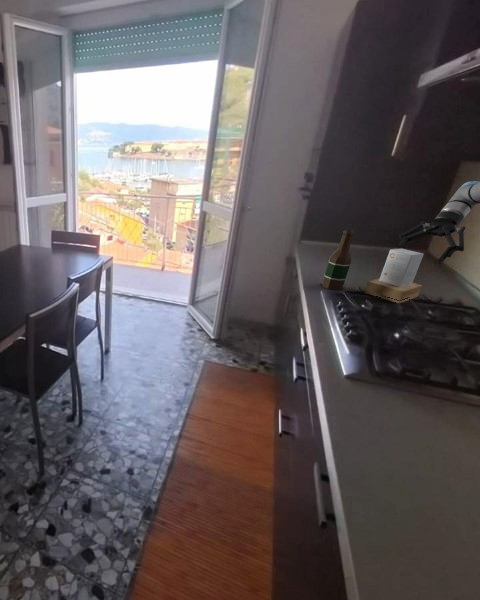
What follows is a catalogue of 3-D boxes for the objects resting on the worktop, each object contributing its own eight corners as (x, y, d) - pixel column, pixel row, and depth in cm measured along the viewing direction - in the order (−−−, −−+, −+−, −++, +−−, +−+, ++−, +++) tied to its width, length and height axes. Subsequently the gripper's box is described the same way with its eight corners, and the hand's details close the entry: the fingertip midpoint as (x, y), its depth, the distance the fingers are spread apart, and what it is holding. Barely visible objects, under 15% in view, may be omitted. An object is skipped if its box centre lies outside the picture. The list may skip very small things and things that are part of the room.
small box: (411, 286, 138) (424, 253, 133) (399, 287, 136) (412, 254, 131) (390, 279, 145) (402, 248, 140) (378, 280, 144) (389, 249, 138)
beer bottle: (346, 291, 146) (365, 233, 137) (325, 289, 148) (343, 232, 138) (337, 284, 153) (354, 229, 144) (317, 283, 155) (333, 228, 145)
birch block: (417, 297, 141) (422, 285, 139) (398, 303, 135) (403, 291, 133) (382, 287, 150) (386, 275, 148) (364, 292, 145) (368, 281, 143)
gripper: (494, 228, 133) (459, 272, 133) (413, 217, 154) (383, 255, 153) (495, 215, 129) (458, 260, 129) (412, 205, 149) (380, 244, 149)
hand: (417, 257), depth 141 cm, fingers open, 13 cm apart
